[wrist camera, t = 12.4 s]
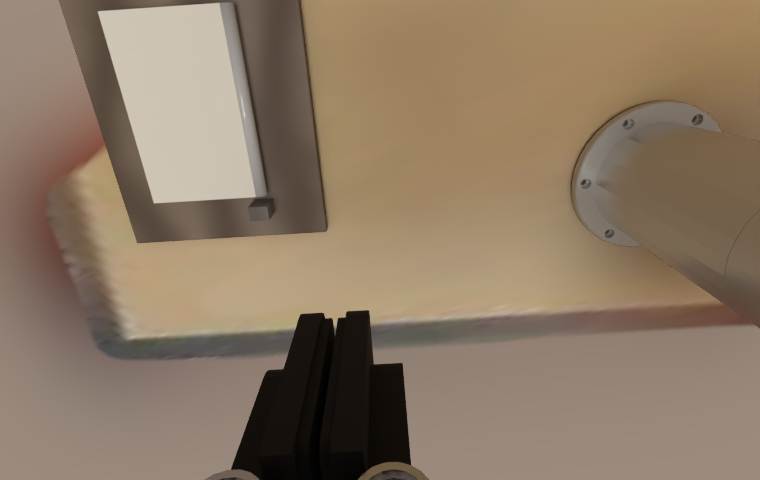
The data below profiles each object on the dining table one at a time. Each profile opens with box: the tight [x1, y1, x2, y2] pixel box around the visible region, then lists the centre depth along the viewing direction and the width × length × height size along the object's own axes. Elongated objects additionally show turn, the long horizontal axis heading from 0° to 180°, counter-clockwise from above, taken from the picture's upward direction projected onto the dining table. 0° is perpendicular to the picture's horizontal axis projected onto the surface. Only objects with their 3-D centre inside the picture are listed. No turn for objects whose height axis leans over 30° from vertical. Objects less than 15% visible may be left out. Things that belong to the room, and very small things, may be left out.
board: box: [59, 0, 327, 243], centre depth 32 cm, size 17×22×3 cm
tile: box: [98, 2, 268, 203], centre depth 32 cm, size 9×14×1 cm, turn 3°
